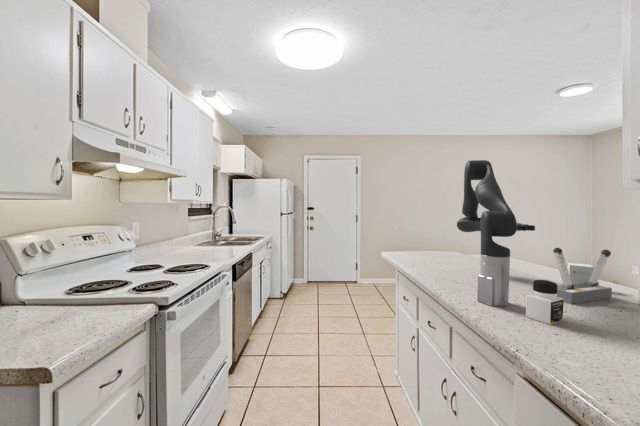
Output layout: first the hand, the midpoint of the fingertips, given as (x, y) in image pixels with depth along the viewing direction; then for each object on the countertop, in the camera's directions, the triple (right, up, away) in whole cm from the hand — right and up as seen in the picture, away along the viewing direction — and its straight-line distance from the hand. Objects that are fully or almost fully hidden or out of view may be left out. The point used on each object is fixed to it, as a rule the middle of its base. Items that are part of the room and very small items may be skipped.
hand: (530, 228), depth 129 cm
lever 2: (+18, -22, -9) cm, 29 cm away
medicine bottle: (-20, -27, -34) cm, 48 cm away
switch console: (+11, -27, -11) cm, 31 cm away
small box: (+23, -27, +3) cm, 35 cm away
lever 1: (+5, -21, -14) cm, 26 cm away
